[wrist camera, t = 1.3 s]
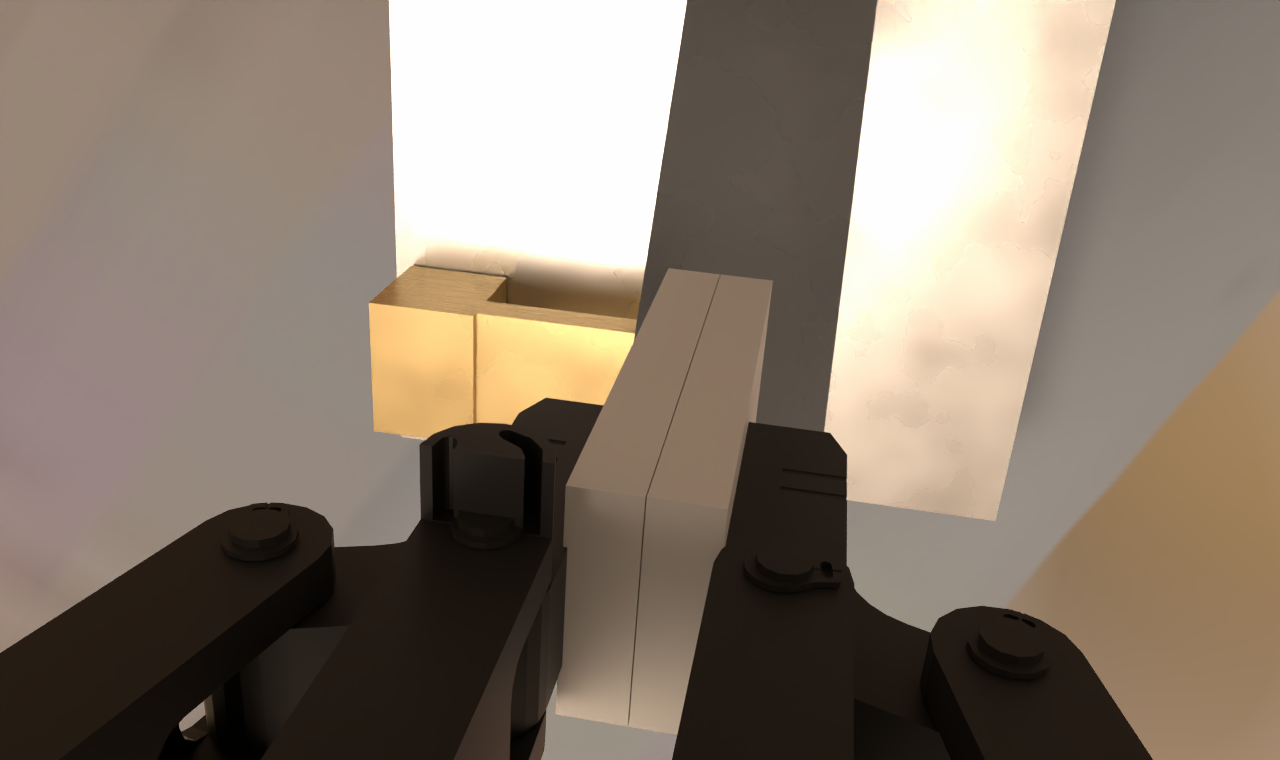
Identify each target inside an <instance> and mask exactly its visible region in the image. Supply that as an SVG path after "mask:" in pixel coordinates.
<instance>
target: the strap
mask: <svg viewBox="0 0 1280 760" xmlns="http://www.w3.org/2000/svg"><path fill="white" fill-rule="evenodd" d="M876 8H877V0H687V3H686V9H685V15H684V22H683V28H682V35H681V41H680V47H679V54H678V60H677V67H676V73H675V79H674V86H673V92H672V99H671V105H670V111H669V118H668V124H667V131H666V137H665V143H664V150H663V156H662V163H661V169H660V176H659V182H658V188H657V195H656V201H655V208H654V214H653V220H652V227H651V233H650V240H649V246H648V252H647V259H646V265H645V272H644V278H643V284H642V291H641V297H640V304H639V310H638V316H637V323H636V329H635V336H634V340H635V338H636V336H637V334H638V332H639V330H640V328H641V326H642V323H643V321H644V319H645V317H646V315H647V313H648V311H649V309H650V307H651V304H652V302H653V300H654V298H655V296H656V294H657V292H658V290H659V288H660V285H661V283H662V281H663V279H664V277H665V275H666V273H667V271H668V269H669V268H671V269H679V270H688V271H696V272H705V273H713V274H720V275H721V274H722V275H730V276H738V277H747V278H755V279H764V280H772V281H773V283H772V291H771V300H770V308H769V316H768V324H767V333H766V341H765V349H764V358H763V366H762V374H761V382H760V391H759V399H758V407H757V415H756V423H761V424H768V425H776V426H783V427H791V428H798V429H806V430H813V431H821V432H824V428H825V420H826V412H827V404H828V396H829V387H830V379H831V371H832V363H833V355H834V347H835V339H836V331H837V323H838V315H839V307H840V299H841V291H842V283H843V274H844V266H845V258H846V250H847V242H848V234H849V226H850V218H851V210H852V202H853V194H854V186H855V178H856V170H857V161H858V153H859V145H860V137H861V129H862V121H863V113H864V105H865V97H866V89H867V81H868V73H869V65H870V56H871V48H872V40H873V32H874V24H875V16H876Z"/></svg>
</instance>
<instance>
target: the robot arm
mask: <svg viewBox="0 0 1280 760" xmlns="http://www.w3.org/2000/svg"><path fill="white" fill-rule="evenodd" d="M772 283H773V281H772V280H764V279H755V278H747V277H738V276H730V275H722V274H721V275H720V274H713V273H705V272H696V271H688V270H679V269H671V268H669V269H668V271H667V273H666V275H665V277H664V279H663V281H662V283H661V285H660V288H659V290H658V292H657V294H656V296H655V298H654V300H653V302H652V304H651V307H650V309H649V311H648V313H647V315H646V317H645V319H644V321H643V323H642V326H641V328H640V330H639V332H638V334H637V336H636V338H635V340H634V342H633V345H632V347H631V349H630V351H629V353H628V355H627V357H626V359H625V361H624V364H623V366H622V368H621V370H620V372H619V374H618V376H617V378H616V380H615V383H614V385H613V387H612V389H611V391H610V393H609V395H608V397H607V399H606V402H605V404H604V405H597V404H590V403H582V402H575V401H567V400H560V399H553V398H544V399H543V400H541V401H539V402H537V403H536V404H534V405H532V406H530V407H528V408H527V409H525V410H523V411H521V412H520V413H519V414H518V415H517V417H516V418H515V420H514V422H513V423H512V425H509V424H501V423H473V424H466V425H458V426H453V427H451V428H448V429H445V430H442V431H440V432H437V433H434V434H432V435H431V436H430V437H429V438H427V439H426V440H425V441H424V442H422V443H421V444H420V494H421V520H420V521H419V523H418V524H417V526H416V527H415V529H414V530H413V532H412V533H411V535H410V536H409V538H408V539H407V541H405V542H401V543H396V544H386V545H377V546H355V547H334V536H333V528H332V527H331V525H330V524H329V523H328V521H327V520H326V518H325V517H324V516H322V515H320V514H318V513H316V512H314V511H312V510H310V509H308V508H307V507H301V506H295V505H290V504H284V503H270V504H267V503H257V504H251V505H249V506H245V507H241V508H236V509H232V510H228V511H226V512H224V513H222V514H220V515H217V516H215V517H213V518H211V519H209V520H207V521H205V522H203V523H202V524H200V525H199V526H197V527H196V528H194V529H192V530H191V531H189V532H188V533H186V534H185V535H183V536H182V537H180V538H178V539H177V540H175V541H174V542H172V543H171V544H169V545H168V546H166V547H164V548H163V549H161V550H160V551H158V552H157V553H155V554H154V555H152V556H150V557H149V558H147V559H146V560H144V561H143V562H141V563H140V564H138V565H136V566H135V567H133V568H132V569H130V570H129V571H127V572H126V573H124V574H122V575H121V576H119V577H118V578H116V579H115V580H113V581H112V582H110V583H108V584H107V585H105V586H104V587H102V588H101V589H99V590H98V591H96V592H94V593H93V594H91V595H90V596H88V597H87V598H85V599H84V600H82V601H80V602H79V603H77V604H76V605H74V606H73V607H71V608H70V609H68V610H66V611H65V612H63V613H62V614H60V615H59V616H57V617H56V618H54V619H52V620H51V621H49V622H48V623H46V624H45V625H43V626H42V627H40V628H39V629H37V630H35V631H34V632H32V633H31V634H29V635H28V636H26V637H25V638H23V639H21V640H20V641H18V642H17V643H15V644H14V645H12V646H11V647H9V648H7V649H6V650H4V651H3V652H1V653H0V760H541V757H542V754H543V752H544V745H545V728H546V708H547V705H548V703H549V700H550V697H551V694H552V692H553V689H554V686H555V684H556V681H557V699H556V714H558V715H564V716H570V717H576V718H581V719H587V720H593V721H599V722H605V723H610V724H616V725H622V726H628V723H629V727H634V728H640V729H645V730H651V731H657V732H663V733H669V734H675V735H677V739H676V744H675V748H674V753H673V758H672V760H1153V759H1152V758H1151V756H1150V755H1149V753H1148V751H1147V750H1146V748H1145V747H1144V746H1143V744H1142V743H1141V741H1140V739H1139V738H1138V736H1137V735H1136V733H1135V732H1134V730H1133V729H1132V727H1131V726H1130V724H1129V723H1128V721H1127V720H1126V718H1125V717H1124V715H1123V714H1122V712H1121V711H1120V709H1119V708H1118V706H1117V705H1116V703H1115V702H1114V700H1113V699H1112V697H1111V696H1110V694H1109V693H1108V691H1107V690H1106V688H1105V687H1104V685H1103V684H1102V682H1101V680H1100V679H1099V677H1098V676H1097V674H1096V673H1095V671H1094V670H1093V668H1092V667H1091V665H1090V664H1089V662H1088V661H1087V659H1086V658H1085V656H1084V655H1083V653H1082V652H1081V651H1080V650H1079V649H1078V648H1077V647H1076V646H1075V645H1074V644H1073V643H1072V642H1071V641H1070V640H1069V639H1068V637H1067V636H1066V635H1064V634H1063V633H1061V632H1059V631H1058V630H1056V629H1054V628H1053V627H1051V626H1050V625H1048V624H1046V623H1045V622H1043V621H1041V620H1039V619H1036V618H1034V617H1031V616H1029V615H1026V614H1022V613H1020V612H1016V611H1013V610H1009V609H1002V608H994V607H986V606H978V607H969V608H960V609H956V610H954V611H952V612H950V613H948V614H946V615H944V616H942V617H940V618H939V619H938V621H937V622H936V624H935V626H934V628H933V629H932V631H931V633H930V632H927V631H924V630H922V629H919V628H916V627H913V626H911V625H908V624H905V623H903V622H901V621H899V620H896V619H894V618H892V617H890V616H887V615H886V614H884V613H882V612H881V611H879V610H878V609H876V608H875V607H873V606H872V605H870V604H869V603H868V602H867V601H866V600H865V599H863V598H862V597H861V596H860V595H859V594H858V593H857V592H856V590H855V589H854V582H853V579H852V576H851V573H850V570H849V568H848V567H847V566H846V562H847V500H846V499H847V482H846V481H847V454H846V453H845V451H844V450H843V449H842V447H841V446H840V445H839V444H838V442H837V441H836V440H835V438H834V437H833V436H832V435H831V433H828V432H821V431H813V430H806V429H798V428H791V427H783V426H776V425H768V424H761V423H756V415H757V407H758V399H759V391H760V382H761V374H762V366H763V358H764V349H765V341H766V333H767V324H768V316H769V308H770V300H771V291H772ZM203 701H204V705H205V713H206V715H205V716H204V717H202V718H201V719H200V720H199V721H198V722H196V723H195V724H194V725H193V726H192V727H190V728H188V729H186V730H184V731H182V732H181V731H180V729H179V722H180V721H181V720H182V719H183V718H184V717H185V716H186V715H187V714H188V713H190V712H191V711H192V710H193V709H194V708H196V707H197V706H198V705H199V704H200V703H202V702H203Z"/></svg>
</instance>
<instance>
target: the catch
mask: <svg viewBox="0 0 1280 760" xmlns="http://www.w3.org/2000/svg"><path fill="white" fill-rule="evenodd" d="M506 293H507V277H500V276H492V275H484V274H475V273H467V272H459V271H450V270H442V269H434V268H426V267H417V266H410V267H409V268H408V269H407V270H406V271H405V272H403V273H402V274H401V275H400V276H399V277H398V278H397V279H395V280H394V281H393V282H392V283H391V284H390V285H389V286H388V287H386V288H385V289H384V290H383V291H382V292H381V293H380V294H378V295H377V296H376V297H375V298H374V299H373V300H372V301H370V302H369V316H370V341H371V366H372V391H373V417H374V431H379V432H386V433H393V434H400V435H407V436H414V437H421V438H429V437H430V436H431V435H432V434H434V433H437V432H440V431H442V430H445V429H448V428H451V427H453V426H458V425H466V424H473V423H501V424H509V425H512V423H513V422H514V420H515V418H516V417H517V415H518V414H519V413H520V412H521V411H523V410H525V409H527V408H528V407H530V406H532V405H534V404H536V403H537V402H539V401H541V400H543V399H544V398H553V399H560V400H567V401H575V402H582V403H590V404H597V405H604V404H605V402H606V399H607V397H608V395H609V393H610V391H611V389H612V387H613V385H614V383H615V380H616V378H617V376H618V374H619V372H620V370H621V368H622V366H623V364H624V361H625V359H626V357H627V355H628V353H629V351H630V349H631V347H632V345H633V342H634V336H635V329H636V323H637V320H635V319H627V318H619V317H610V316H602V315H594V314H586V313H578V312H570V311H562V310H554V309H546V308H538V307H530V306H522V305H514V304H506Z"/></svg>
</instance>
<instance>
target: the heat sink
mask: <svg viewBox="0 0 1280 760" xmlns="http://www.w3.org/2000/svg"><path fill="white" fill-rule="evenodd" d="M1115 2H1116V0H877V8H876V16H875V24H874V32H873V40H872V48H871V56H870V65H869V73H868V81H867V89H866V97H865V105H864V113H863V121H862V129H861V137H860V145H859V153H858V161H857V170H856V178H855V186H854V194H853V202H852V210H851V218H850V226H849V234H848V242H847V250H846V258H845V266H844V274H843V283H842V291H841V299H840V307H839V315H838V323H837V331H836V339H835V347H834V355H833V363H832V371H831V379H830V387H829V396H828V404H827V412H826V420H825V428H824V432H828V433H831V435H832V436H833V437H834V438H835V440H836V441H837V442H838V444H839V445H840V446H841V447H842V449H843V450H844V451H845V453H846V454H847V481H846V482H847V499H846V500H851V501H858V502H865V503H872V504H880V505H887V506H894V507H901V508H908V509H915V510H922V511H929V512H936V513H943V514H950V515H957V516H964V517H971V518H978V519H985V520H993V521H996V517H997V512H998V508H999V504H1000V499H1001V495H1002V491H1003V486H1004V482H1005V478H1006V473H1007V469H1008V465H1009V460H1010V456H1011V452H1012V447H1013V443H1014V439H1015V435H1016V430H1017V426H1018V422H1019V417H1020V413H1021V409H1022V404H1023V400H1024V396H1025V391H1026V387H1027V383H1028V378H1029V374H1030V370H1031V365H1032V361H1033V357H1034V352H1035V348H1036V344H1037V339H1038V335H1039V331H1040V326H1041V322H1042V318H1043V313H1044V309H1045V305H1046V300H1047V296H1048V292H1049V288H1050V283H1051V279H1052V275H1053V270H1054V266H1055V262H1056V257H1057V253H1058V249H1059V244H1060V240H1061V236H1062V231H1063V227H1064V223H1065V218H1066V214H1067V210H1068V205H1069V201H1070V197H1071V192H1072V188H1073V184H1074V179H1075V175H1076V171H1077V166H1078V162H1079V158H1080V153H1081V149H1082V145H1083V140H1084V136H1085V132H1086V128H1087V123H1088V119H1089V115H1090V110H1091V106H1092V102H1093V97H1094V93H1095V89H1096V84H1097V80H1098V76H1099V71H1100V67H1101V63H1102V58H1103V54H1104V50H1105V45H1106V41H1107V37H1108V32H1109V28H1110V24H1111V19H1112V15H1113V11H1114V6H1115ZM686 3H687V0H389V11H390V47H391V82H392V118H393V154H394V189H395V225H396V260H397V278H398V277H399V276H400V275H401V274H402V273H403V272H405V271H406V270H407V269H408V268H409V267H410V266H417V267H426V268H434V269H442V270H450V271H459V272H467V273H475V274H484V275H492V276H500V277H507V293H506V304H514V305H522V306H530V307H538V308H546V309H554V310H562V311H570V312H578V313H586V314H594V315H602V316H610V317H619V318H627V319H635V320H637V316H638V310H639V304H640V297H641V291H642V284H643V278H644V272H645V265H646V259H647V252H648V246H649V240H650V233H651V227H652V220H653V214H654V208H655V201H656V195H657V188H658V182H659V176H660V169H661V163H662V156H663V150H664V143H665V137H666V131H667V124H668V118H669V111H670V105H671V99H672V92H673V86H674V79H675V73H676V67H677V60H678V54H679V47H680V41H681V35H682V28H683V22H684V15H685V9H686ZM401 437H406V438H413V439H420V440H426V439H427V438H421V437H414V436H407V435H401Z"/></svg>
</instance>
